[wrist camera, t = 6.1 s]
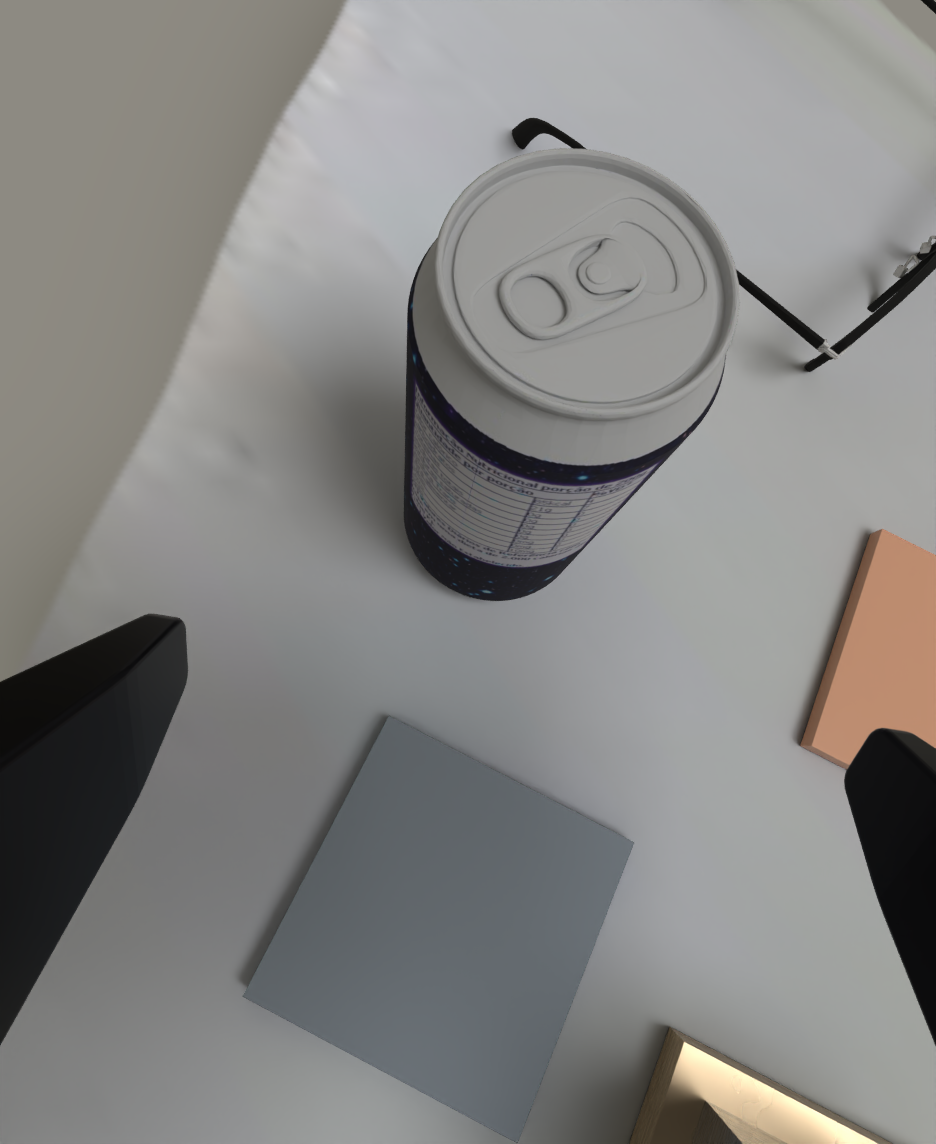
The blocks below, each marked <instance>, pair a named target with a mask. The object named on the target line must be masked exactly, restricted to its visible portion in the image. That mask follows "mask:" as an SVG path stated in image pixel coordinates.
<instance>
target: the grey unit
mask: <svg viewBox="0 0 936 1144" xmlns="http://www.w3.org/2000/svg"><path fill="white" fill-rule="evenodd" d="M629 1144H892V1143H890V1142H888V1141H887V1140H885V1139H883V1138H881V1137H879V1136H877V1135H875V1134H873V1133H871V1132H869V1131H867V1130H866V1129H864V1128H862V1127H860V1126H858V1125H856V1124H854V1123H852V1122H850V1121H848V1120H847V1119H845V1118H843V1117H841V1116H839V1115H837V1114H835V1113H833V1112H831V1111H829V1110H827V1109H826V1108H824V1107H822V1106H820V1105H818V1104H816V1103H814V1102H812V1101H810V1100H808V1099H806V1098H805V1097H803V1096H801V1095H799V1094H797V1093H795V1092H793V1091H791V1090H789V1089H787V1088H786V1087H784V1086H782V1085H780V1084H778V1083H776V1082H774V1081H772V1080H770V1079H768V1078H766V1077H765V1076H763V1075H761V1074H759V1073H757V1072H755V1071H753V1070H751V1069H749V1068H747V1067H746V1066H744V1065H742V1064H740V1063H738V1062H736V1061H734V1060H732V1059H730V1058H728V1057H726V1056H725V1055H723V1054H721V1053H719V1052H717V1051H715V1050H713V1049H711V1048H709V1047H707V1046H705V1045H704V1044H702V1043H700V1042H698V1041H696V1040H694V1039H692V1038H690V1037H688V1036H686V1035H685V1034H683V1033H681V1032H679V1031H677V1030H675V1029H673V1028H671V1027H669V1030H668V1033H667V1036H666V1039H665V1042H664V1044H663V1047H662V1050H661V1053H660V1056H659V1059H658V1062H657V1065H656V1068H655V1070H654V1073H653V1076H652V1079H651V1082H650V1085H649V1088H648V1091H647V1094H646V1096H645V1099H644V1102H643V1105H642V1108H641V1111H640V1114H639V1117H638V1120H637V1122H636V1125H635V1128H634V1131H633V1134H632V1137H631V1140H630V1143H629Z"/></svg>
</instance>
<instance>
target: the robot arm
mask: <svg viewBox="0 0 936 1144" xmlns="http://www.w3.org/2000/svg"><path fill="white" fill-rule="evenodd" d="M187 675H188V662H187V642H186V627H185V624H184V622H183V621H182V620H181V619H180V618H178V617H171V616H165V615H158V614H147V615H144V616H141V617H139V618H137V619H135V620H133V621H131V622H128V623H126V624H124V625H122V626H120V627H118V628H115V629H113V630H111V631H109V632H107V633H105V634H103V635H100V636H98V637H96V638H94V639H92V640H90V641H87V642H85V643H83V644H81V645H79V646H77V647H74V648H72V649H70V650H68V651H66V652H64V653H61V654H59V655H57V656H55V657H53V658H51V659H49V660H46V661H44V662H42V663H40V664H38V665H36V666H33V667H31V668H29V669H27V670H25V671H23V672H20V673H18V674H16V675H14V676H12V677H10V678H7V679H5V680H3V681H1V682H0V1045H1V1043H2V1042H3V1040H4V1038H5V1036H6V1034H7V1033H8V1031H9V1029H10V1027H11V1025H12V1024H13V1022H14V1020H15V1018H16V1017H17V1015H18V1013H19V1011H20V1009H21V1008H22V1006H23V1004H24V1002H25V1000H26V999H27V997H28V995H29V993H30V992H31V990H32V988H33V986H34V984H35V983H36V981H37V979H38V977H39V975H40V974H41V972H42V970H43V968H44V967H45V965H46V963H47V961H48V959H49V958H50V956H51V954H52V952H53V950H54V949H55V947H56V945H57V943H58V942H59V940H60V938H61V936H62V934H63V933H64V931H65V929H66V927H67V925H68V924H69V922H70V920H71V918H72V916H73V915H74V913H75V911H76V909H77V908H78V906H79V904H80V902H81V900H82V899H83V897H84V895H85V893H86V891H87V890H88V888H89V886H90V884H91V883H92V881H93V879H94V877H95V875H96V874H97V872H98V870H99V868H100V866H101V865H102V863H103V861H104V859H105V858H106V856H107V854H108V852H109V850H110V849H111V847H112V845H113V843H114V841H115V840H116V838H117V836H118V834H119V832H120V831H121V829H122V827H123V825H124V824H125V822H126V820H127V818H128V816H129V815H130V813H131V811H132V809H133V807H134V805H135V803H136V801H137V799H138V797H139V795H140V793H141V791H142V789H143V786H144V784H145V782H146V780H147V777H148V775H149V773H150V770H151V768H152V765H153V763H154V761H155V758H156V756H157V753H158V751H159V749H160V746H161V744H162V741H163V739H164V737H165V734H166V732H167V729H168V727H169V725H170V722H171V720H172V717H173V715H174V713H175V710H176V708H177V705H178V703H179V701H180V698H181V696H182V693H183V691H184V688H185V685H186V681H187ZM844 784H845V791H846V794H847V798H848V801H849V804H850V808H851V811H852V815H853V818H854V822H855V825H856V828H857V832H858V835H859V839H860V842H861V845H862V849H863V852H864V856H865V859H866V863H867V866H868V869H869V873H870V876H871V880H872V883H873V886H874V889H875V892H876V895H877V899H878V901H879V904H880V907H881V910H882V912H883V915H884V918H885V920H886V923H887V925H888V928H889V930H890V933H891V935H892V938H893V940H894V943H895V945H896V948H897V950H898V953H899V955H900V958H901V960H902V963H903V965H904V968H905V970H906V973H907V975H908V978H909V980H910V983H911V985H912V988H913V990H914V993H915V995H916V998H917V1000H918V1003H919V1005H920V1008H921V1010H922V1013H923V1015H924V1018H925V1020H926V1023H927V1025H928V1028H929V1030H930V1033H931V1035H932V1038H933V1040H934V1043H935V1045H936V748H934V747H933V746H931V745H930V744H928V743H927V742H925V741H924V740H922V739H921V738H919V737H918V736H916V735H915V734H913V733H910V732H907V731H902V730H895V729H889V728H878V729H875V730H874V731H872V732H871V733H870V734H869V736H868V737H867V739H866V740H865V742H864V743H863V745H862V746H861V748H860V750H859V751H858V753H857V754H856V756H855V757H854V759H853V760H852V762H851V764H850V765H849V767H848V768H847V770H846V774H845V779H844Z"/></svg>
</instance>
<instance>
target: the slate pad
mask: <svg viewBox="0 0 936 1144" xmlns="http://www.w3.org/2000/svg"><path fill="white" fill-rule="evenodd" d="M633 844H634V842H633V841H631V840H629V839H627V838H625V837H623V836H621V835H619V834H617V833H615V832H613V831H611V830H610V829H608V828H606V827H604V826H602V825H600V824H598V823H596V822H594V821H592V820H590V819H588V818H586V817H584V816H582V815H580V814H579V813H577V812H575V811H573V810H571V809H569V808H567V807H565V806H563V805H561V804H559V803H557V802H555V801H553V800H551V799H550V798H548V797H546V796H544V795H542V794H540V793H538V792H536V791H534V790H532V789H530V788H528V787H526V786H524V785H522V784H521V783H519V782H517V781H515V780H513V779H511V778H509V777H507V776H505V775H503V774H501V773H499V772H497V771H495V770H493V769H492V768H490V767H488V766H486V765H484V764H482V763H480V762H478V761H476V760H474V759H472V758H470V757H468V756H466V755H464V754H463V753H461V752H459V751H457V750H455V749H453V748H451V747H449V746H447V745H445V744H443V743H441V742H439V741H437V740H435V739H433V738H432V737H430V736H428V735H426V734H424V733H422V732H420V731H418V730H416V729H414V728H412V727H410V726H408V725H406V724H404V723H403V722H401V721H399V720H397V719H395V718H393V717H391V716H388V718H387V720H386V722H385V724H384V726H383V728H382V730H381V732H380V734H379V735H378V737H377V739H376V741H375V743H374V745H373V747H372V749H371V751H370V753H369V755H368V757H367V759H366V760H365V762H364V764H363V766H362V768H361V770H360V772H359V774H358V776H357V778H356V780H355V782H354V783H353V785H352V787H351V789H350V791H349V793H348V795H347V797H346V799H345V801H344V803H343V805H342V807H341V808H340V810H339V812H338V814H337V816H336V818H335V820H334V822H333V824H332V826H331V828H330V830H329V832H328V833H327V835H326V837H325V839H324V841H323V843H322V845H321V847H320V849H319V851H318V853H317V855H316V857H315V858H314V860H313V862H312V864H311V866H310V868H309V870H308V872H307V874H306V876H305V878H304V880H303V881H302V883H301V885H300V887H299V889H298V891H297V893H296V895H295V897H294V899H293V901H292V903H291V905H290V906H289V908H288V910H287V912H286V914H285V916H284V918H283V920H282V922H281V924H280V926H279V928H278V930H277V931H276V933H275V935H274V937H273V939H272V941H271V943H270V945H269V947H268V949H267V951H266V953H265V955H264V956H263V958H262V960H261V962H260V964H259V966H258V968H257V970H256V972H255V974H254V976H253V978H252V980H251V981H250V983H249V985H248V987H247V989H246V991H245V993H244V995H243V997H244V998H246V999H248V1000H250V1001H252V1002H254V1003H256V1004H258V1005H259V1006H261V1007H263V1008H265V1009H267V1010H269V1011H271V1012H273V1013H274V1014H276V1015H278V1016H280V1017H282V1018H284V1019H286V1020H287V1021H289V1022H291V1023H293V1024H295V1025H297V1026H299V1027H301V1028H302V1029H304V1030H306V1031H308V1032H310V1033H312V1034H314V1035H316V1036H317V1037H319V1038H321V1039H323V1040H325V1041H327V1042H329V1043H331V1044H332V1045H334V1046H336V1047H338V1048H340V1049H342V1050H344V1051H346V1052H347V1053H349V1054H351V1055H353V1056H355V1057H357V1058H359V1059H361V1060H362V1061H364V1062H366V1063H368V1064H370V1065H372V1066H374V1067H376V1068H377V1069H379V1070H381V1071H383V1072H385V1073H387V1074H389V1075H390V1076H392V1077H394V1078H396V1079H398V1080H400V1081H402V1082H404V1083H405V1084H407V1085H409V1086H411V1087H413V1088H415V1089H417V1090H419V1091H420V1092H422V1093H424V1094H426V1095H428V1096H430V1097H432V1098H434V1099H435V1100H437V1101H439V1102H441V1103H443V1104H445V1105H447V1106H449V1107H450V1108H452V1109H454V1110H456V1111H458V1112H460V1113H462V1114H464V1115H465V1116H467V1117H469V1118H471V1119H473V1120H475V1121H477V1122H479V1123H480V1124H482V1125H484V1126H486V1127H488V1128H490V1129H492V1130H493V1131H495V1132H497V1133H499V1134H501V1135H503V1136H505V1137H507V1138H508V1139H510V1140H512V1141H514V1142H516V1143H518V1141H519V1138H520V1136H521V1133H522V1130H523V1128H524V1125H525V1123H526V1120H527V1118H528V1115H529V1112H530V1110H531V1107H532V1105H533V1102H534V1100H535V1097H536V1094H537V1092H538V1089H539V1087H540V1084H541V1081H542V1079H543V1076H544V1074H545V1071H546V1069H547V1066H548V1063H549V1061H550V1058H551V1056H552V1053H553V1051H554V1048H555V1045H556V1043H557V1040H558V1038H559V1035H560V1033H561V1030H562V1027H563V1025H564V1022H565V1020H566V1017H567V1014H568V1012H569V1009H570V1007H571V1004H572V1002H573V999H574V996H575V994H576V991H577V989H578V986H579V984H580V981H581V978H582V976H583V973H584V971H585V968H586V965H587V963H588V960H589V958H590V955H591V953H592V950H593V947H594V945H595V942H596V940H597V937H598V935H599V932H600V929H601V927H602V924H603V922H604V919H605V917H606V914H607V911H608V909H609V906H610V904H611V901H612V898H613V896H614V893H615V891H616V888H617V886H618V883H619V880H620V878H621V875H622V873H623V870H624V868H625V865H626V862H627V860H628V857H629V855H630V852H631V850H632V847H633Z"/></svg>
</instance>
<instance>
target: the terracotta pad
mask: <svg viewBox="0 0 936 1144" xmlns="http://www.w3.org/2000/svg"><path fill="white" fill-rule="evenodd" d="M878 728H889V729H895V730H902V731H907V732H910V733H913V734H915V735H916V736H918V737H919V738H921V739H922V740H924V741H925V742H927V743H928V744H930V745H931V746H933V747H934V748H936V555H934V554H932V553H930V552H928V551H926V550H924V549H922V548H920V547H918V546H916V545H914V544H912V543H910V542H908V541H906V540H904V539H902V538H900V537H898V536H896V535H894V534H892V533H890V532H888V531H886V530H884V529H881V530H879V531H876V532H874V533H872V534H870V537H869V540H868V543H867V546H866V549H865V552H864V555H863V558H862V561H861V564H860V567H859V570H858V573H857V576H856V579H855V582H854V585H853V588H852V591H851V594H850V597H849V600H848V603H847V606H846V609H845V612H844V615H843V618H842V621H841V624H840V627H839V630H838V633H837V636H836V639H835V642H834V646H833V649H832V652H831V655H830V658H829V661H828V664H827V667H826V670H825V673H824V676H823V679H822V682H821V685H820V688H819V691H818V694H817V697H816V700H815V703H814V706H813V709H812V712H811V715H810V718H809V721H808V724H807V727H806V730H805V733H804V736H803V739H802V742H801V745H800V746H801V747H803V748H805V749H807V750H809V751H811V752H813V753H815V754H817V755H819V756H821V757H823V758H825V759H827V760H829V761H831V762H833V763H835V764H837V765H839V766H841V767H843V768H845V769H846V770H847V768H848V767H849V765H850V764H851V762H852V760H853V759H854V757H855V756H856V754H857V753H858V751H859V750H860V748H861V746H862V745H863V743H864V742H865V740H866V739H867V737H868V736H869V734H870V733H871V732H872V731H874V730H875V729H878Z"/></svg>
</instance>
